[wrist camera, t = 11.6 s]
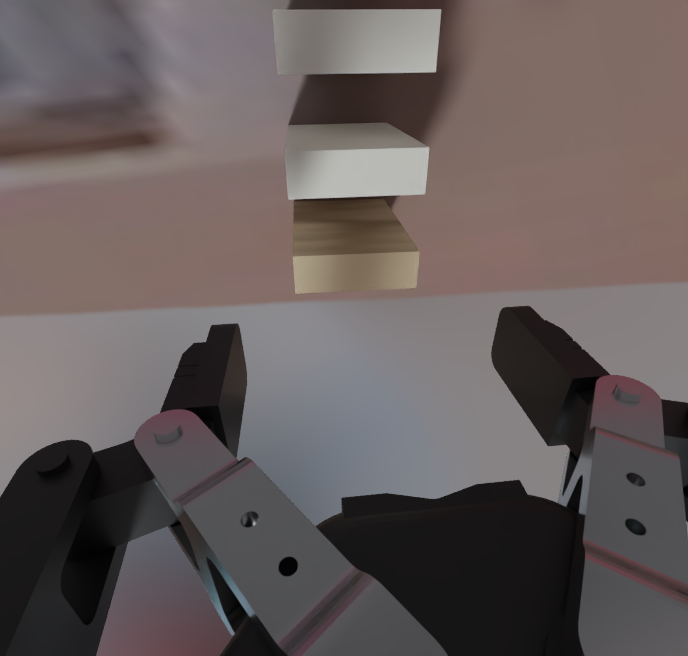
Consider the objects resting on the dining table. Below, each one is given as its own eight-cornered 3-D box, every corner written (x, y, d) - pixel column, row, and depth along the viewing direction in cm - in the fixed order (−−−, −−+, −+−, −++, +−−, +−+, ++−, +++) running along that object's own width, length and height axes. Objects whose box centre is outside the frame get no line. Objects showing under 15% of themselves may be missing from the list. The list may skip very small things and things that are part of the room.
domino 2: (290, 159, 22) (288, 199, 15) (288, 125, 21) (284, 151, 14) (385, 156, 22) (425, 194, 15) (386, 122, 21) (429, 147, 14)
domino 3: (295, 229, 24) (295, 293, 17) (293, 201, 23) (292, 256, 16) (382, 226, 24) (416, 287, 17) (383, 198, 23) (419, 251, 16)
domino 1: (284, 73, 20) (277, 75, 13) (281, 31, 19) (272, 9, 12) (388, 71, 20) (435, 72, 13) (390, 31, 19) (441, 9, 12)
